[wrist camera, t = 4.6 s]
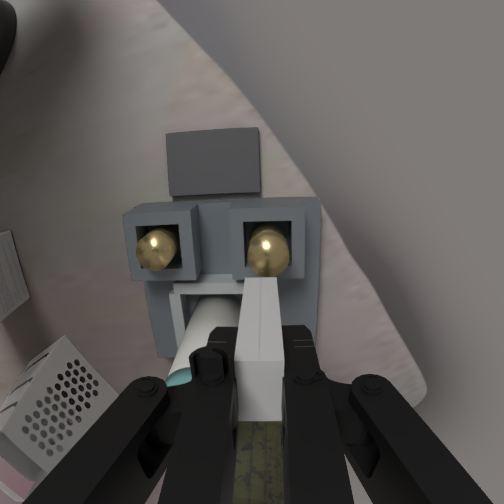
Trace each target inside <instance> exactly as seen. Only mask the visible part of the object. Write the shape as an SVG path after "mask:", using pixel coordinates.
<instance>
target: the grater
mask: <svg viewBox="0 0 504 504" xmlns="http://www.w3.org/2000/svg"><path fill="white" fill-rule="evenodd" d="M47 353H49V354H48V355H47V357H44V358H42V359H41V360H40V361H38V362H37V363H36V364H34V365H32V364H33V363H35V362H36V361H37V360H39V359H40V358H41V357H43V356H44V355H45V354H47ZM76 359H77V360H79V362H80V365H79V366H76V365H75V364H74V360H76ZM68 362H70V363H72V365H73V368H72V369H69V368H68V367H67V363H68ZM81 366H84V367H85V368H86V372H85V373H83V372H81V370H80V368H81ZM74 369H77V370H78V372H79V375H78V376H75V375H74V373H73V370H74ZM65 371H70V373H71V377H67V376H66V375H65ZM88 373H90V374H91V375H92V379H91V380H89V379H88V378H87V374H88ZM58 374H62V375H63V378H64V379H63V380H62V381H60V380H59V379H58V377H57V375H58ZM80 376H83V377H84V378H85V382H84V383H82V382H81V381H80V379H79V378H80ZM72 378H76V379H77V384H73V383H72ZM93 380H97V381H98V383H99V385H98V386H94V384H93ZM65 381H68V382H69V383H70V387H69V388H66V387H65V385H64V382H65ZM56 383H58V384H60V386H61V390H59V391H58V390H56V389H55V384H56ZM87 383H90V384H91V386H92V389H91V390H89V389H87V387H86V384H87ZM79 385H82V386H83V387H84V391H83V392H81V391H80V390H79V388H78V386H79ZM71 388H75V389H76V391H77V394H76V395H73V394H72V393H71ZM93 390H97V392H98V396H94V395H93ZM62 391H66V392H67V393H68V397H67V398H64V397H63V396H62ZM86 391H88V392H89V393H90V394H91V397H90V398H87V397H86V396H85V392H86ZM79 395H81V396H83V398H84V400H83V402H80V401H79V400H78V396H79ZM118 396H119V394H118V393H117V392H116V391H115V390H114V389H113V388H112V387H111V386H110V385H109V384H108V383H107V382H106V381H105V380H104V379H103V378H102V377H101V376H100V375H99V374H98V372H97V371H96V370H95V369H94V368H93V367H92V366H91V365H90V364H89V363H88V362H87V360H86V359H85V358H84V357H83V356H82V355H81V354H80V352H79V351H78V350H77V349H76V348H75V347H74V345H73V344H72V343H71V342H70V341H69V339H68V338H67V337H66V336H65V335H64V336H63V337H61V338H60V339H58V340H57V341H56V342H54V343H53V344H52V345H50V346H49V347H48V348H47V349H45V350H44V351H43V352H41V353H40V354H39V355H37V356H36V357H35V358H33V359H32V360H31V361H30V362H29V363H28V365H27V366H26V368H25V369H24V371H23V372H22V374H21V375H20V377H19V379H18V380H17V382H16V383H15V385H14V387H13V388H12V390H11V391H10V393H9V395H8V396H7V398H6V400H5V401H4V403H3V405H2V407H1V408H0V456H1V457H2V458H3V459H5V460H6V461H7V462H8V463H9V464H10V465H11V466H12V467H13V468H15V469H16V470H17V471H18V472H19V473H20V474H21V475H23V476H24V477H25V478H26V479H28V480H29V481H35V483H34V484H33V486H32V488H31V490H30V492H29V493H28V496H29V495H30V494H31V493H32V492H33V491H34V490H35V488H36V487H37V486H38V485H39V484H40V483H41V482H42V481H43V480H44V478H45V477H46V476H47V475H48V474H49V473H50V472H51V471H52V470H53V468H54V467H55V466H56V465H57V464H58V463H59V462H60V461H61V459H62V458H63V457H64V456H65V455H66V454H67V453H68V452H69V451H70V449H71V448H72V447H73V446H74V445H75V444H76V443H77V442H78V441H79V439H80V438H81V437H82V436H83V435H84V434H85V433H86V432H87V431H88V429H89V428H90V427H91V426H92V425H93V424H94V423H95V422H96V421H97V419H98V418H99V417H100V416H101V415H102V414H103V413H104V412H105V411H106V410H107V408H108V407H109V406H110V405H111V404H112V403H113V402H114V401H115V400H116V398H117V397H118ZM70 398H73V399H74V400H75V404H74V405H71V404H70V403H69V399H70ZM85 402H89V403H90V408H89V409H87V408H86V407H85V405H84V404H85ZM76 405H80V406H81V408H82V411H81V412H78V411H77V410H76ZM80 418H81V420H80V421H78V419H80ZM70 436H71V437H70ZM0 489H1V490H2V491H4V492H5V493H6V494H7V495H8V496H10V497H11V498H12V499H13V500H15V501H18V502H24V501H25V500H26V499H25V500H23V499H22V498H21V497H19V496H18V495H17V494H16V493H14V492H13V491H12V490H11V489H10V488H8V487H7V486H6V485H5V484H4V483H2V482H1V481H0ZM28 496H27V497H28ZM27 497H26V498H27Z"/></svg>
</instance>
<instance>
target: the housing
mask: <svg viewBox="0 0 504 504" xmlns="http://www.w3.org/2000/svg"><path fill="white" fill-rule="evenodd" d="M122 215H123V223H124V231H125V239H126V246H127V253H128V259H129V266H130V272H131V278H132V281H144V286H145V292H146V298H147V303H148V309H149V314H150V319H151V325H152V330H153V335H154V339H155V344H156V349H157V353H158V357H164V358H175V357H176V354H177V351H178V349H179V346H180V344H181V341H182V339H183V336H184V334H185V331H186V329H187V326H188V323H189V321H190V318H191V316H192V313H193V311H194V309H195V306H196V304H197V302H198V300H199V299H200V298H201V297H202V296H203V295H205V294H233V295H235V296H236V297H237V298H238V299H239V300H240V301H241V302H242V296H243V289H244V281H245V278H258V277H264V276H260V275H258V274H256V273H255V272H254V271H253V270H252V269H251V267H250V266H249V263H248V248H249V241H250V236H251V233H252V231H253V230H254V229H255V228H256V227H257V226H259V225H261V224H266V223H270V224H274V225H276V226H278V227H279V228H280V229H281V230H282V231H283V233H284V235H285V238H286V242H287V246H288V250H289V255H290V259H289V263H288V266H287V267H286V269H285V270H284V271H283V272H282V273H280V274H279V275H276V276H273V277H277V287H278V297H279V307H280V317H281V325H305V326H306V327H307V328H308V329H309V330H310V331H311V333H312V337H313V341H314V347H315V337H316V322H317V306H318V286H319V261H320V221H321V200H320V199H318V198H317V197H278V198H241V199H215V200H194V201H176V202H160V203H145V204H140V205H138V206H136V207H134V209H132V210H130V211H128V212H126V213H124V214H122ZM169 224H173V225H175V226H176V227H178V229H179V236H180V246H181V248H180V250H179V251H178V252H177V253H176V255H175V256H174V257H173V259H172V260H171V261H170V262H169V264H168V265H167V266H166V267H165V268H164V269H162V270H160V271H150V270H148V269H146V268H144V267H143V266H142V265H141V264H140V263H139V261H138V260H137V257H136V246H137V243H138V242H139V241H140V239H142V238H143V237H144V236H145V235H147V234H148V233H149V232H150V231H152V230H153V229H154V228H155V227H157V226H158V225H169Z"/></svg>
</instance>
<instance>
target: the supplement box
mask: <svg viewBox="0 0 504 504" xmlns="http://www.w3.org/2000/svg"><path fill="white" fill-rule="evenodd" d="M28 299H30V295H29V292H28V289H27V286H26V283H25V280H24V277H23V274H22V271H21V267H20V264H19V260H18V257H17V253H16V250H15V246H14V242H13V238H12V234H11V231H5V232H1V233H0V322H1V321H2V320H4V319H5V318H6V317H7V316H8V315H10V314H11V313H12V312H13V311H14V310H16V309H17V308H18V307H19V306H21V305H22V304H23V303H24V302H26V301H27V300H28Z"/></svg>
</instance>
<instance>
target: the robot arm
mask: <svg viewBox="0 0 504 504" xmlns="http://www.w3.org/2000/svg"><path fill="white" fill-rule="evenodd" d="M15 28H16V15H15V11H14V8H13V7H12V5H11V4H10V3H9V2H7V1H4V0H0V73H1V71H2V69H3V67H4V65H5V62H6V60H7V58H8V55H9V53H10V50H11V47H12V43H13V39H14V35H15ZM189 363H190V369H191V375H192V379H191V381H189V382H187V383H184V384H180V385H174V386H167V384H166V383H165V382H164V381H163V380H162V379H160V378H157V377H151V376H148V377H141V378H139V379H136V380H134V381H133V382H132V383H130V384H129V385H128V386H127V387H126V388H125V390H124V391H123V392H122V393H121V394H120V395H119V396H118V397H117V398H116V400H115V401H114V402H113V403H112V404H111V405H110V406H109V407H108V408H107V410H106V411H105V412H104V413H103V414H102V415H101V416H100V417H99V418H98V419H97V421H96V422H95V423H94V424H93V425H92V426H91V427H90V428H89V429H88V431H87V432H86V433H85V434H84V435H83V436H82V437H81V438H80V439H79V441H78V442H77V443H76V444H75V445H74V446H73V447H72V448H71V449H70V451H69V452H68V453H67V454H66V455H65V456H64V457H63V458H62V459H61V461H60V462H59V463H58V464H57V465H56V466H55V467H54V468H53V470H52V471H51V472H50V473H49V474H48V475H47V476H46V477H45V478H44V480H43V481H42V482H41V483H40V484H39V485H38V486H37V487H36V488H35V490H34V491H33V492H32V493H31V494H30V495H29V496H28V497H27V498H26V500H25V501H24V502H23V503H22V504H145V502H146V501H147V499H148V497H149V496H150V494H151V493H152V491H153V489H154V488H155V486H156V485H157V483H158V481H159V480H160V478H161V477H162V475H163V473H164V472H165V470H166V468H167V470H166V474H165V478H164V481H163V485H162V489H161V493H160V497H159V501H158V504H232V501H233V489H234V477H235V465H236V453H237V441H238V424H237V423H238V421H282V432H281V445H282V456H283V482H284V504H354V500H353V495H352V490H351V485H350V480H349V475H348V470H347V465H346V461H345V456H344V454H345V455H346V457H347V459H348V461H349V463H350V464H351V466H352V468H353V469H354V471H355V473H356V475H357V476H358V478H359V480H360V482H361V483H362V485H363V487H364V489H365V491H366V492H367V494H368V496H369V498H370V499H371V501H372V503H373V504H493V503H492V502H491V500H490V499H489V498H488V497H487V496H486V494H485V493H484V492H483V491H482V490H481V488H480V487H479V486H478V485H477V484H476V482H475V481H474V480H473V479H472V478H471V476H470V475H469V474H468V473H467V472H466V470H465V469H464V468H463V467H462V466H461V464H460V463H459V462H458V461H457V460H456V459H455V457H454V456H453V455H452V454H451V453H450V451H449V450H448V449H447V448H446V447H445V445H444V444H443V443H442V442H441V441H440V440H439V438H438V437H437V436H436V435H435V434H434V433H433V432H432V430H431V429H430V428H429V427H428V425H427V424H426V423H425V422H424V421H423V420H422V418H421V417H420V416H419V415H418V414H417V413H416V411H415V410H414V409H413V408H412V407H411V406H410V404H409V403H408V402H407V401H406V400H405V399H404V397H403V396H402V395H401V394H400V393H399V392H398V391H397V389H396V388H395V387H394V386H393V385H392V384H391V382H390V381H388V380H387V379H386V378H384V377H382V376H379V375H374V374H366V375H361V376H359V377H357V378H355V379H354V380H353V382H352V384H344V383H339V382H335V381H332V380H330V379H328V378H327V377H326V375H325V373H324V372H323V371H322V370H320V366H319V362H318V358H317V354H316V349H315V347H314V341H313V337H312V333H311V331H310V330H309V329H308V328H307V327H306V326H305V325H281V317H280V307H279V297H278V287H277V277H258V278H245V281H244V289H243V296H242V304H241V311H240V319H239V326H238V327H216V328H215V329H213V330H212V331H211V332H210V334H209V338H208V342H207V345H206V346H204V347H201V348H198V349H196V350H195V351H193V352H192V353H191V354H190V356H189Z"/></svg>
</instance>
